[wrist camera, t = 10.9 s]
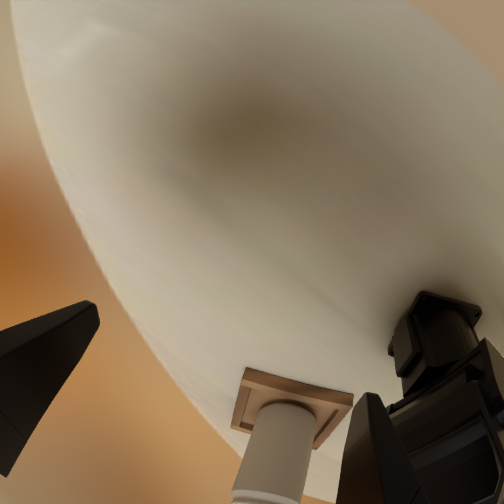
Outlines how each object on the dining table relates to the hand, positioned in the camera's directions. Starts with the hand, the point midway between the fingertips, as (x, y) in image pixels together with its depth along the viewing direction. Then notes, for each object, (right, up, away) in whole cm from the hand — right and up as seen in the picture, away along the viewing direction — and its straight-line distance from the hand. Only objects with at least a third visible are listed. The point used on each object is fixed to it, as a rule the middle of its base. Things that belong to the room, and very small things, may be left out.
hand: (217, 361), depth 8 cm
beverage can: (+5, -14, +20) cm, 25 cm away
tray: (+5, -14, +21) cm, 26 cm away
